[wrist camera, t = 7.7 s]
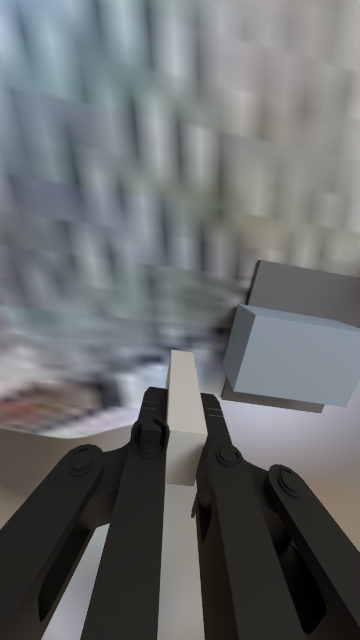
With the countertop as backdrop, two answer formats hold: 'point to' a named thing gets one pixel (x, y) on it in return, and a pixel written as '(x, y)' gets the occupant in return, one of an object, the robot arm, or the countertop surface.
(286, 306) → the mat
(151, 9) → the countertop surface
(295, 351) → the block
